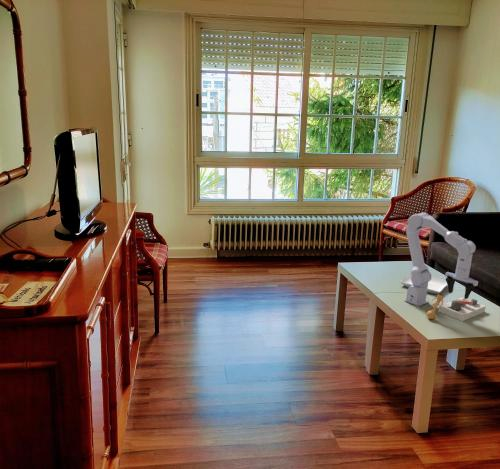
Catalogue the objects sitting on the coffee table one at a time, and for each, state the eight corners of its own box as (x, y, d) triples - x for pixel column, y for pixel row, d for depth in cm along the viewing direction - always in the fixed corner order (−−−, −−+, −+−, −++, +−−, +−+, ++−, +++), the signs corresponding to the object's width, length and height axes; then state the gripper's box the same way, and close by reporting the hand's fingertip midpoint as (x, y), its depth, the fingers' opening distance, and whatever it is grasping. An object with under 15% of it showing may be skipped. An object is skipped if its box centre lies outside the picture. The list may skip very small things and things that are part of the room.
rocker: (470, 304, 209) (469, 301, 209) (453, 302, 216) (453, 300, 216) (473, 303, 211) (473, 300, 211) (457, 301, 217) (456, 299, 217)
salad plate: (439, 297, 232) (440, 291, 231) (398, 286, 244) (399, 280, 243) (449, 286, 248) (450, 280, 248) (411, 277, 261) (412, 271, 260)
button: (457, 311, 207) (458, 305, 207) (448, 308, 211) (449, 301, 210) (462, 309, 210) (463, 303, 209) (453, 306, 213) (455, 299, 213)
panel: (462, 321, 204) (464, 313, 203) (438, 311, 213) (439, 303, 212) (484, 311, 216) (486, 304, 215) (460, 303, 225) (462, 295, 224)
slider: (474, 305, 214) (474, 301, 214) (470, 303, 216) (470, 300, 215) (476, 304, 216) (477, 300, 215) (472, 302, 217) (473, 299, 217)
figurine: (422, 314, 209) (426, 290, 206) (435, 315, 209) (439, 291, 206) (430, 322, 201) (434, 297, 198) (443, 323, 201) (447, 298, 198)
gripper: (483, 271, 202) (478, 299, 206) (452, 261, 213) (448, 288, 217) (475, 273, 198) (470, 302, 201) (444, 264, 209) (440, 291, 213)
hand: (458, 295), depth 209 cm, fingers open, 7 cm apart
